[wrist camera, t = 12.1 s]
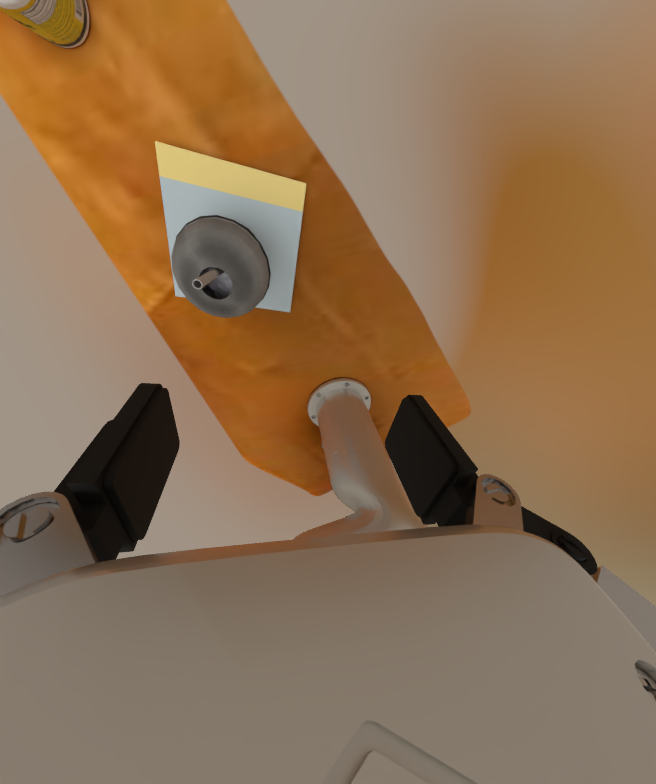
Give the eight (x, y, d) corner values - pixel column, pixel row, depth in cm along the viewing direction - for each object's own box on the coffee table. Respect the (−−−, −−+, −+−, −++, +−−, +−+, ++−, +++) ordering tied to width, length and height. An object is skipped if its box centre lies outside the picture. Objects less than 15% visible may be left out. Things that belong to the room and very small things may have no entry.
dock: (288, 304, 37) (290, 312, 35) (182, 288, 34) (175, 296, 31) (303, 184, 29) (306, 183, 27) (165, 145, 26) (154, 141, 23)
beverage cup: (209, 278, 31) (147, 365, 15) (197, 203, 26) (92, 219, 11) (271, 281, 32) (272, 365, 17) (269, 211, 28) (268, 236, 12)
